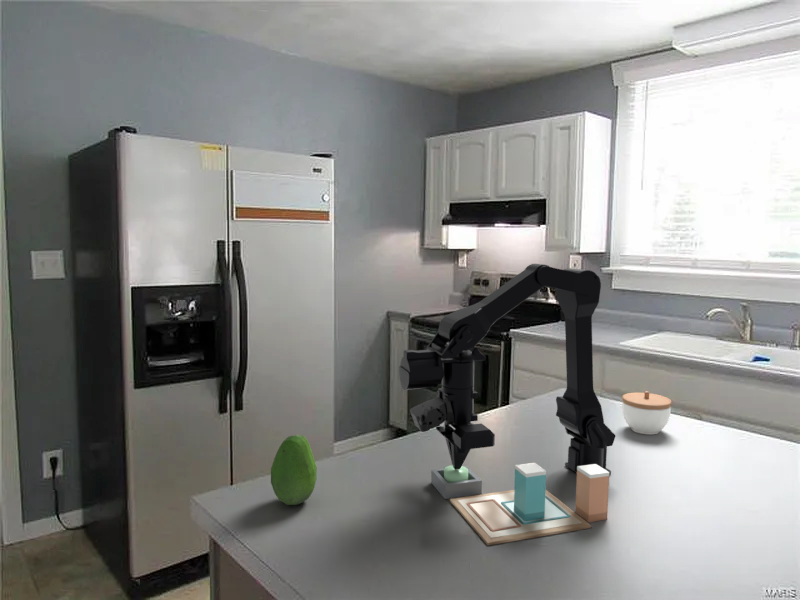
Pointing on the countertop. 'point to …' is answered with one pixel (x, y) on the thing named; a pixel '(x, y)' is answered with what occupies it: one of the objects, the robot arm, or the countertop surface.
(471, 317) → the robot arm
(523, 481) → the teal white tall block
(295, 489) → the avocado
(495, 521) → the colouring board
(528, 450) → the countertop surface
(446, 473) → the button
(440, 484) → the button pad
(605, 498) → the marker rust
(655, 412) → the lidded jar
